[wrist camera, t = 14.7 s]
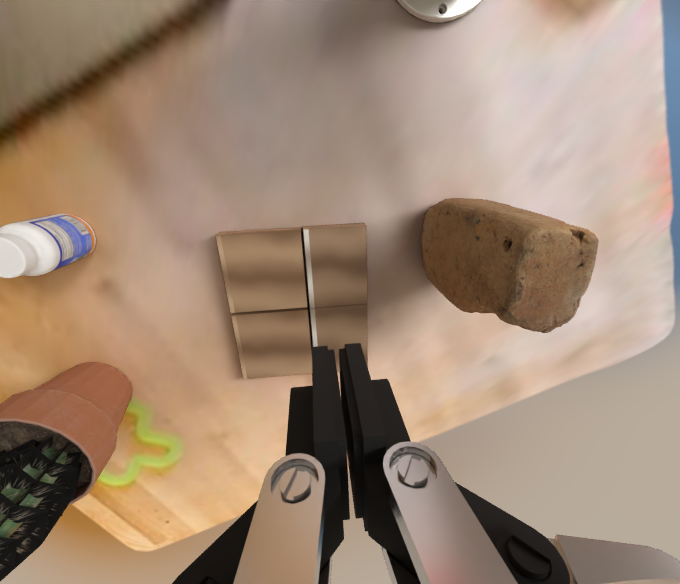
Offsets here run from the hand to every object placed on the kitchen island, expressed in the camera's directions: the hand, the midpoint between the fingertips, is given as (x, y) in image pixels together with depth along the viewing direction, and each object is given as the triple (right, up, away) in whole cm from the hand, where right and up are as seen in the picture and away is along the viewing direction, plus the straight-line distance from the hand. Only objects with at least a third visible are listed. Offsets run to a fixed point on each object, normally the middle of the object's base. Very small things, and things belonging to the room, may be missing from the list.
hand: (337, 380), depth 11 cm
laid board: (0, +2, +33) cm, 33 cm away
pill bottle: (-32, +10, +27) cm, 43 cm away
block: (+14, +10, +31) cm, 36 cm away
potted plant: (-35, -11, +35) cm, 51 cm away
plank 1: (-10, +6, +30) cm, 32 cm away
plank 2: (-9, -4, +34) cm, 36 cm away
